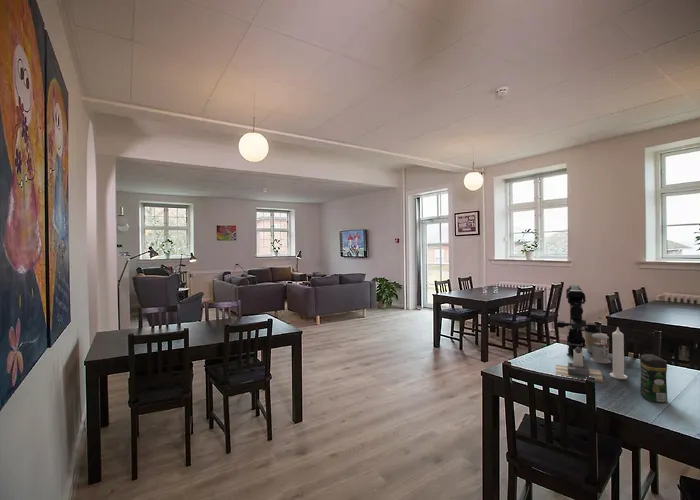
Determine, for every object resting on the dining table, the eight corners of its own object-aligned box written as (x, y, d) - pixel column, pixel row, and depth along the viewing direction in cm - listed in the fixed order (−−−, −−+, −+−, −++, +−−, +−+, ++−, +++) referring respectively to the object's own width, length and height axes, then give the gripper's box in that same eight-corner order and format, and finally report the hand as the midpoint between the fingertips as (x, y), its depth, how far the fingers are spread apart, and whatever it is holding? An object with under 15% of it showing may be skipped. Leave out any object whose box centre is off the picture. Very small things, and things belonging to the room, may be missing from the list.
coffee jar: (637, 393, 162) (636, 352, 162) (658, 394, 160) (657, 353, 160) (648, 402, 153) (648, 359, 152) (671, 404, 151) (670, 360, 150)
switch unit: (555, 366, 198) (555, 356, 198) (600, 372, 188) (600, 361, 188) (555, 376, 184) (555, 365, 184) (603, 383, 174) (603, 371, 174)
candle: (630, 379, 178) (629, 328, 177) (614, 378, 179) (613, 328, 178) (622, 374, 185) (622, 325, 184) (607, 373, 186) (606, 325, 185)
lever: (573, 362, 188) (573, 345, 184) (582, 363, 186) (582, 346, 182) (573, 366, 186) (573, 349, 182) (582, 367, 184) (583, 350, 180)
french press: (586, 359, 209) (585, 316, 208) (598, 356, 214) (598, 313, 213) (604, 364, 200) (603, 319, 199) (616, 360, 205) (616, 316, 204)
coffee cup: (605, 354, 216) (605, 329, 216) (589, 354, 217) (589, 329, 216) (595, 349, 226) (595, 325, 225) (580, 350, 226) (579, 326, 226)
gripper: (556, 314, 198) (556, 342, 198) (597, 317, 189) (598, 346, 189) (556, 310, 208) (556, 337, 208) (595, 313, 198) (596, 341, 199)
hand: (576, 340), depth 201 cm, fingers closed
